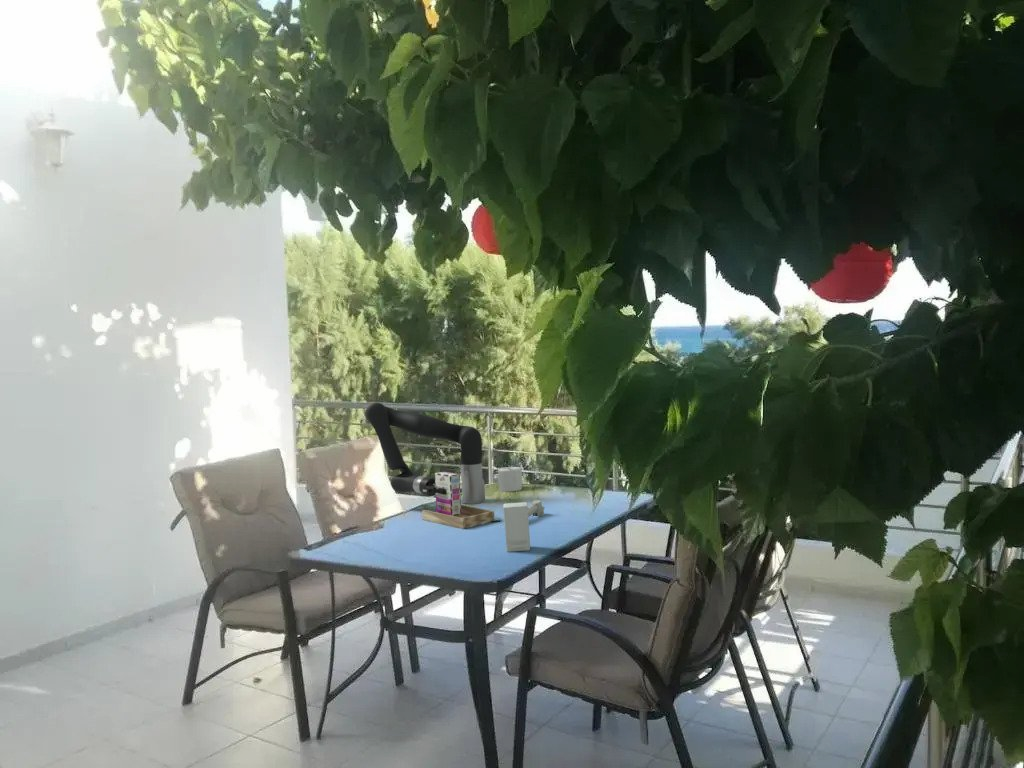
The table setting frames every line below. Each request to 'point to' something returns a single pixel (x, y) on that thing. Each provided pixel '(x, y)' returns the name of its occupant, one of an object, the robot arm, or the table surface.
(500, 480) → the toilet tissue
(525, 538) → the skincare box
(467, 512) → the tray
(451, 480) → the candy bar box
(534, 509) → the grey long piece
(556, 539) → the table surface
